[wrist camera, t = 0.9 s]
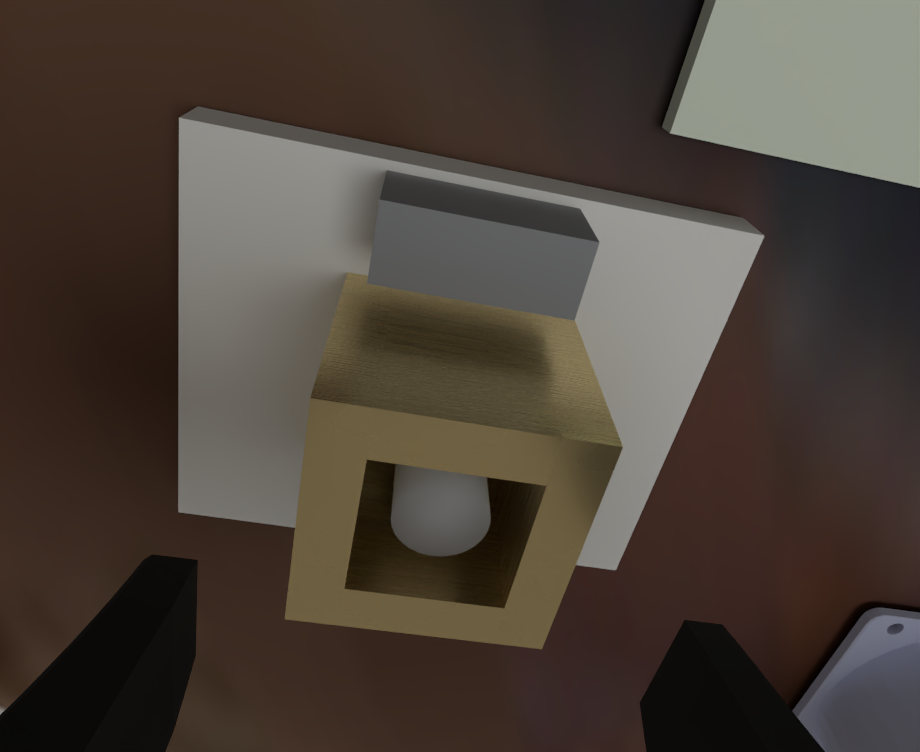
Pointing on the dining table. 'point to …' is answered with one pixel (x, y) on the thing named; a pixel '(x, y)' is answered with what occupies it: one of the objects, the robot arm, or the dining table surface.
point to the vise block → (428, 272)
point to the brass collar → (448, 465)
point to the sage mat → (807, 83)
